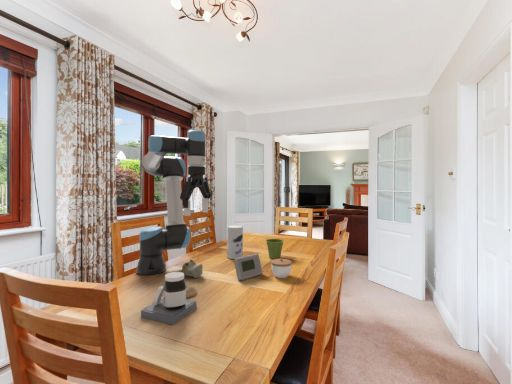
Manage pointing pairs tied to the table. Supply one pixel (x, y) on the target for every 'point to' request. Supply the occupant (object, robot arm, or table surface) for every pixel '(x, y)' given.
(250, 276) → the digital clock
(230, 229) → the container
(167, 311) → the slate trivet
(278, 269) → the lidded jar
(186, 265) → the ceramic sculpture
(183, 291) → the spread jar
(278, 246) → the plant pot
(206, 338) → the table surface
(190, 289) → the oak coaster
